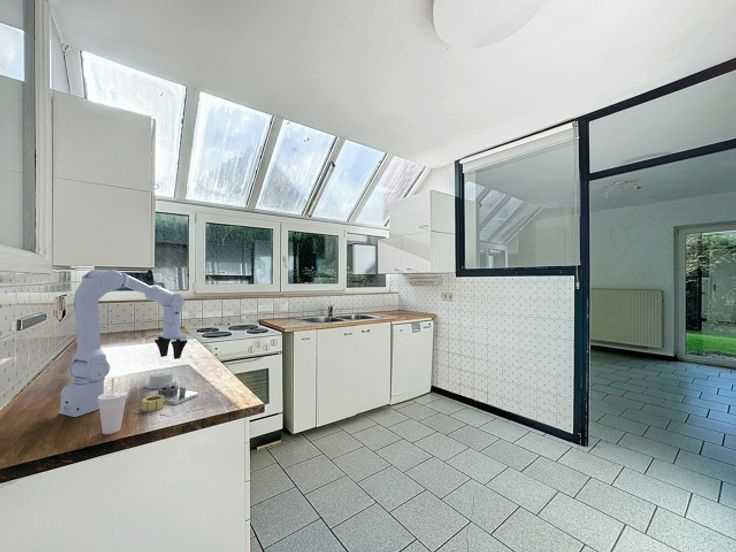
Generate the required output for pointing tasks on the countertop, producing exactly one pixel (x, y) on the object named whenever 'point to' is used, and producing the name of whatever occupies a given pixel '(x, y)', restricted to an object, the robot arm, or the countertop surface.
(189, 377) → the countertop surface
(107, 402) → the smoothie
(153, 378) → the mechanical component
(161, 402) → the brass ring
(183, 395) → the piston block
